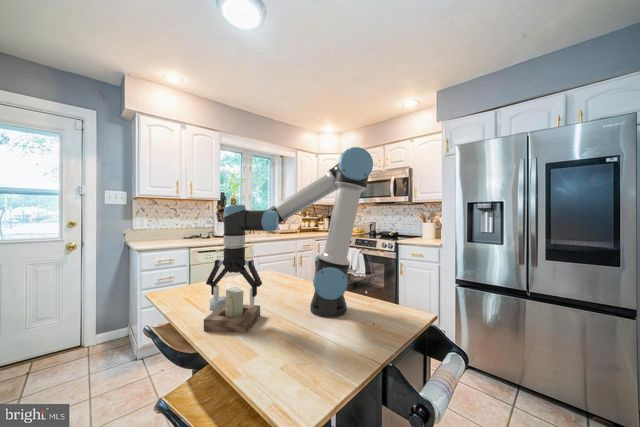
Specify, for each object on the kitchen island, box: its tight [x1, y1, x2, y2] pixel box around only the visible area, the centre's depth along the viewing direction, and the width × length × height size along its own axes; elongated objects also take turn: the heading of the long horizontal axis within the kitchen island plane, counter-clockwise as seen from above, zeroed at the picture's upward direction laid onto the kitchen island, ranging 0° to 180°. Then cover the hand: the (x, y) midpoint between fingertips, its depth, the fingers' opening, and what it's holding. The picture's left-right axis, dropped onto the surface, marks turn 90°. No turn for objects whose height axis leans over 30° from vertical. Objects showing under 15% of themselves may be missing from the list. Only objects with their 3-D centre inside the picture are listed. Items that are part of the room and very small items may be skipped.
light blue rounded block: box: [209, 295, 226, 312], centre depth 111 cm, size 7×7×4 cm
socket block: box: [203, 304, 261, 334], centre depth 97 cm, size 15×15×4 cm
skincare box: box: [225, 287, 244, 317], centre depth 97 cm, size 6×4×12 cm
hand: (234, 304), depth 97 cm, fingers open, 13 cm apart
